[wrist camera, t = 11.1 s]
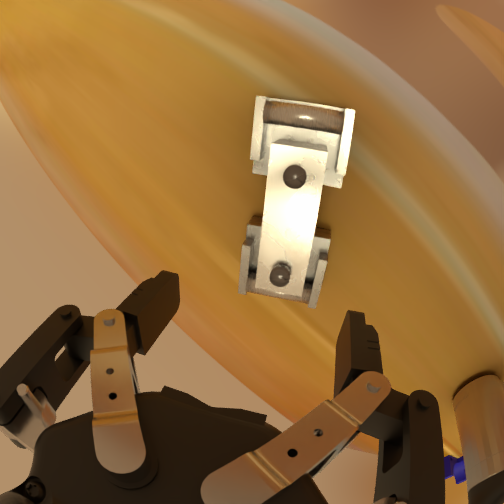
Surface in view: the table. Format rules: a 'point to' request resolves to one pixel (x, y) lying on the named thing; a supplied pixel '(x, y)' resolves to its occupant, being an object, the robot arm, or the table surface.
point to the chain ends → (338, 145)
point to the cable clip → (455, 468)
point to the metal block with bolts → (290, 214)
